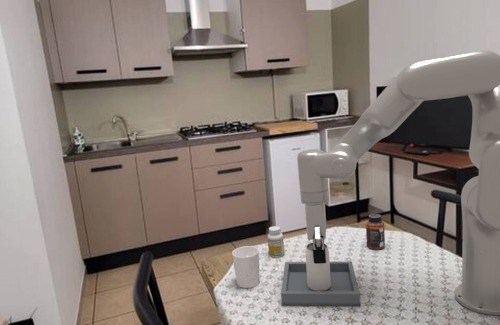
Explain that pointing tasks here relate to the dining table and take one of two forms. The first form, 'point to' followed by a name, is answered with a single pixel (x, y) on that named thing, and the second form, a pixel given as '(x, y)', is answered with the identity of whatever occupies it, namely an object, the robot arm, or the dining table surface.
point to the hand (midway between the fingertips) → (319, 254)
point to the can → (317, 271)
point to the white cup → (246, 266)
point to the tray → (337, 295)
